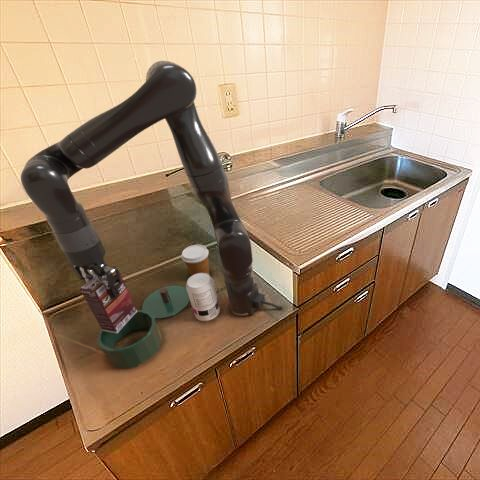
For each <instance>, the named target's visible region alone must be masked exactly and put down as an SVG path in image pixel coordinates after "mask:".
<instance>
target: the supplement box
mask: <svg viewBox="0 0 480 480" xmlns="http://www.w3.org/2000/svg"><path fill="white" fill-rule="evenodd" d="M118 271H119V275H120V279H121V284H119V285H118V286H117V289H118V291H119V293H120V294H119V296H117V297H116V298H115V299H111V298H110V296H109V294H108V292H107V290H106V288H105V287H104V285H103V284H102V283H98V281H97V280H96V279H95V278H93V279H91V280H90V281H89V282H88V283H87V282H86V283H85V284H84V285H83V286H81V287H80V288H79V291H80V292H81V295H82V296H83V298H84V300H85V301H86V304H87V305H88V307H89V308H90V310H91V313H93V316H94V318H95V319H96V321H97V323H98V325H99V326H100V328H101V329H102V330H103V331H106V332H112V333H118V332H119V331H120V330H121V329H122V328H123V327H124V325H125V324H126V323H127V322H128V321H129V320H130V319H131V318H132V317H133V316H134V315H135V313H137V310H138V309H137V307H136V304H135V302H134V300H133V298H132V296H131V294H130V292H129V289H128V287H127V285H126V283H125V281H124V279H123V276H122V274H121V272H120V270H119V269H118ZM105 275H106V274H105ZM105 275H103V276H102V277H100V278H103V277H104V276H105ZM106 282H107V284H108V280H106Z"/></svg>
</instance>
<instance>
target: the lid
mask: <svg viewBox="0 0 480 480" xmlns="http://www.w3.org/2000/svg"><path fill="white" fill-rule="evenodd" d="M190 303H191V302H190V298H189V295H188V292H187V289H186V286H183V285H169V286H168V285H167V286H164V287H161V288H158V289H156V290H155V291H152V292H151V293H150V294H149V295H148V296H146V297H145V299H144V301H143V302H142V306H141V310H144V311H147V312H150V313H151V314H152V315H153V316H154V318H155V320H163V319H164V320H165V319H168V318H171V317H173V316H176V315H178V314H180V313H181V312H182V311H184V310H185V309H186V308H187V307H188V305H189V304H190Z"/></svg>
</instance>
